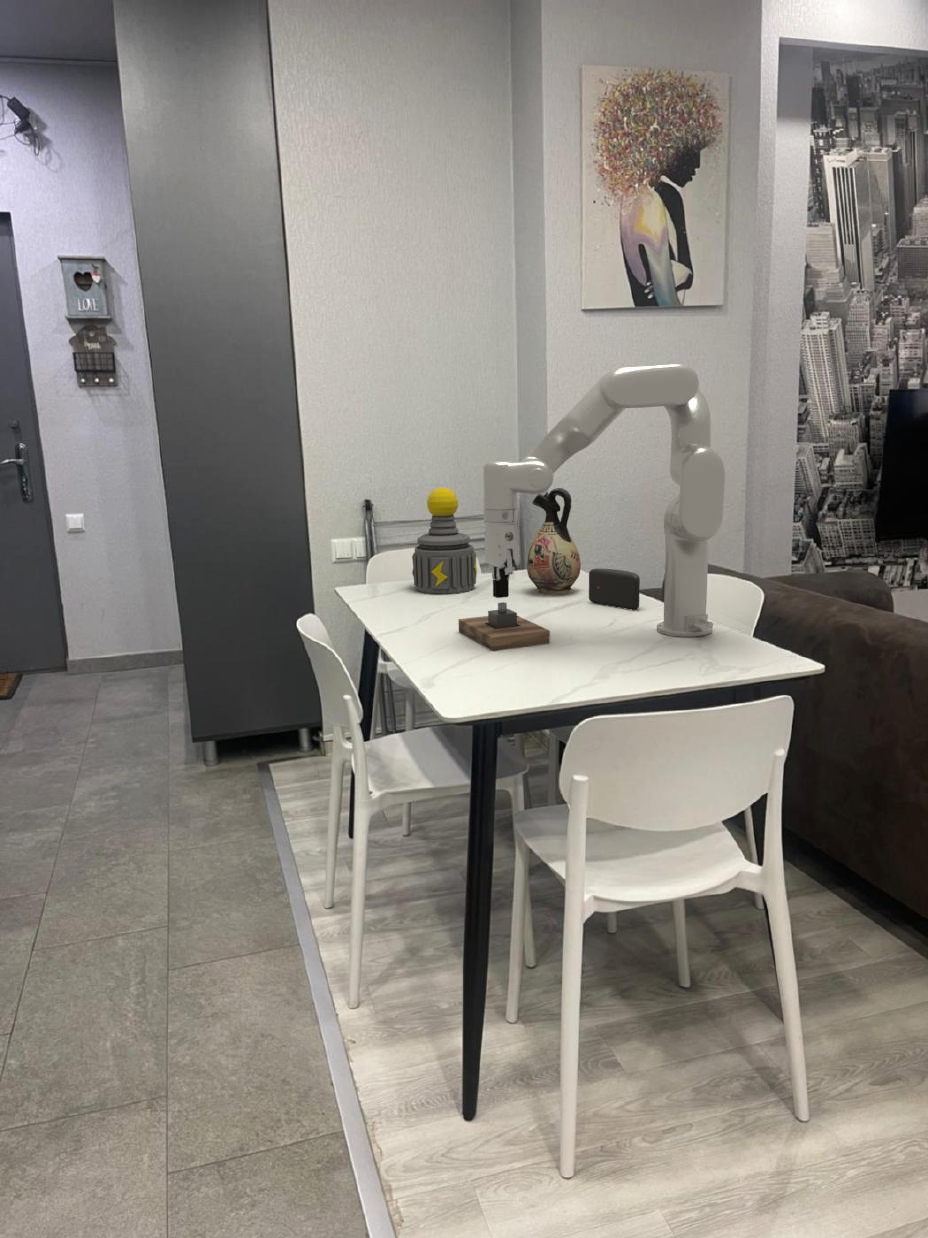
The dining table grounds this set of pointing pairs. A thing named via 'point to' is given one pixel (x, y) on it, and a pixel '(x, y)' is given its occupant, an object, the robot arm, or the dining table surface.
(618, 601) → the rounded red-dot block
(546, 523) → the ceramic jug
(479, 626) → the socket board
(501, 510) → the robot arm
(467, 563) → the decorative lamp
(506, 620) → the plug
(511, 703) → the dining table surface
